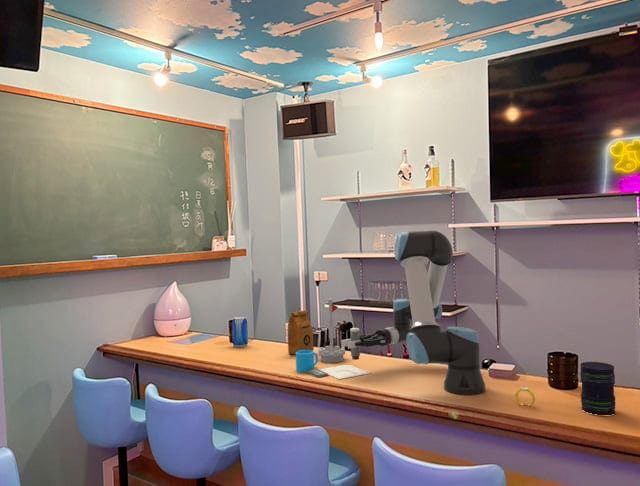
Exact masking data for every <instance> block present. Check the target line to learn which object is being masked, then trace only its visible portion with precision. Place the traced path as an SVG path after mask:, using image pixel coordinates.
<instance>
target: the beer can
mask: <svg viewBox="0 0 640 486" xmlns="http://www.w3.org/2000/svg"><path fill="white" fill-rule="evenodd" d="M231 326H232V327H231V328H232V329H231V330H232V346H233V347H234V348H237V349H238V348H245V347H246V348H247V346H248V344H249V335H248V334H249V333H248V332H249V330H248V320H247V319H246V317H245V316H236V317H233V320H232V321H231Z"/></svg>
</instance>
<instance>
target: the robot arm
mask: <svg viewBox="0 0 640 486" xmlns="http://www.w3.org/2000/svg"><path fill="white" fill-rule="evenodd" d="M453 252H454V251H453V246H452V243H451V242H450V240H449V238H447V236H446V235H445V234H444V233H442V232H440V231H437V230H418V231H417V230H415V231H412V230H411V231H410V230H408V231H401V232H399V233H398V234H397V235H396V238H395V243H394V258H395V260H396V261H399V263H400V266H401V267H403V268H404V270H405V271H404V272H405V277H406V285H407V292H408V299H407V298H397V299H394V300H393V304H392V305H393V307H392V308H393V309H392V312H393V314H392V315H393V326H390V327H385V328H379V329H377V330H376V331H375V333H370V334H368V333H364V334H359V338H360V340H356V341H351V338H347V339H341V347H344V348H345V347H347V349H348V350H349V349H350V350H351V348H356V347H360V348H361V347H365V348H368V347H373V346H380V347H385V346H389V345H390V346H393V345H394V344H399V343H404V342H405V343H406V348H407V352H408V355H409V357H410V359H411V360H412V362H413V363H414V364H416V365H417V364H418V365H428V364H445V363H447V371H446V375H445V379H444V382H443V389H444V390H445V391H447V392H448V393H451V394H457V395H465V396H466V395H470V396H471V395H473V396H474V395H480V394H482V393H485V391H486V382H485V381H484V378H483V375H482V372H481V366H480V365H481V364H480V360H481V359H480V358H481V357H480V336H479V333H478V331H476V330H475V329H472V328H468V327H462V326H447V327H446V330H445V331H442V330H441V325H440V324H439V323H437V322H436V319H441V318H442V316H443V306H442V304H441V302H440V300H441V295H442V291H443V287H444V283H445V279H446V275H447V271H448V267H449V266H450V265H451V264H452V261H453V258H454V257H453V256H454V253H453ZM428 264H429V267H428V268H427V265H428ZM411 321H412V324H411ZM341 347H340V348H341Z"/></svg>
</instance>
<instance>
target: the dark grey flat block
mask: <svg viewBox="0 0 640 486" xmlns="http://www.w3.org/2000/svg"><path fill="white" fill-rule="evenodd" d="M306 373H307V374H309V375H311V376H313V377H316V378H318V379H319V378H324V377H329V375H328V373H326V372H323V371H321V370H319V368H314V369H312V370H307V372H306Z"/></svg>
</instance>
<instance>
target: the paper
mask: <svg viewBox="0 0 640 486" xmlns="http://www.w3.org/2000/svg"><path fill="white" fill-rule="evenodd" d="M318 369H319V368H318ZM319 370H321V371H323V372H326V373H328V377H332V378H334V379H336V380H339V381H340V380H346V379H350V378H354V377H355V378H356V377H361V376H366V375H370V374H371V372H369V371H367V370H364V369H361V368H358V367H356V366H353V365H350V364H343V365H336V366H332V367H327V368H325V367H324V368H320V369H319Z"/></svg>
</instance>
